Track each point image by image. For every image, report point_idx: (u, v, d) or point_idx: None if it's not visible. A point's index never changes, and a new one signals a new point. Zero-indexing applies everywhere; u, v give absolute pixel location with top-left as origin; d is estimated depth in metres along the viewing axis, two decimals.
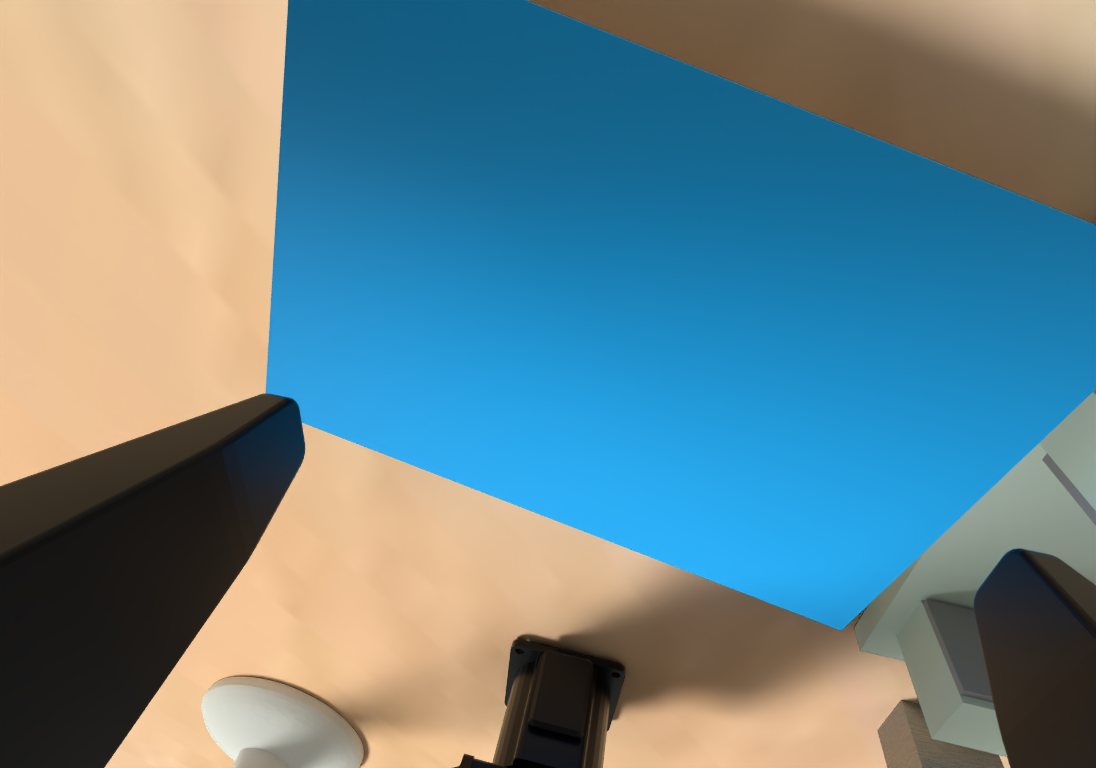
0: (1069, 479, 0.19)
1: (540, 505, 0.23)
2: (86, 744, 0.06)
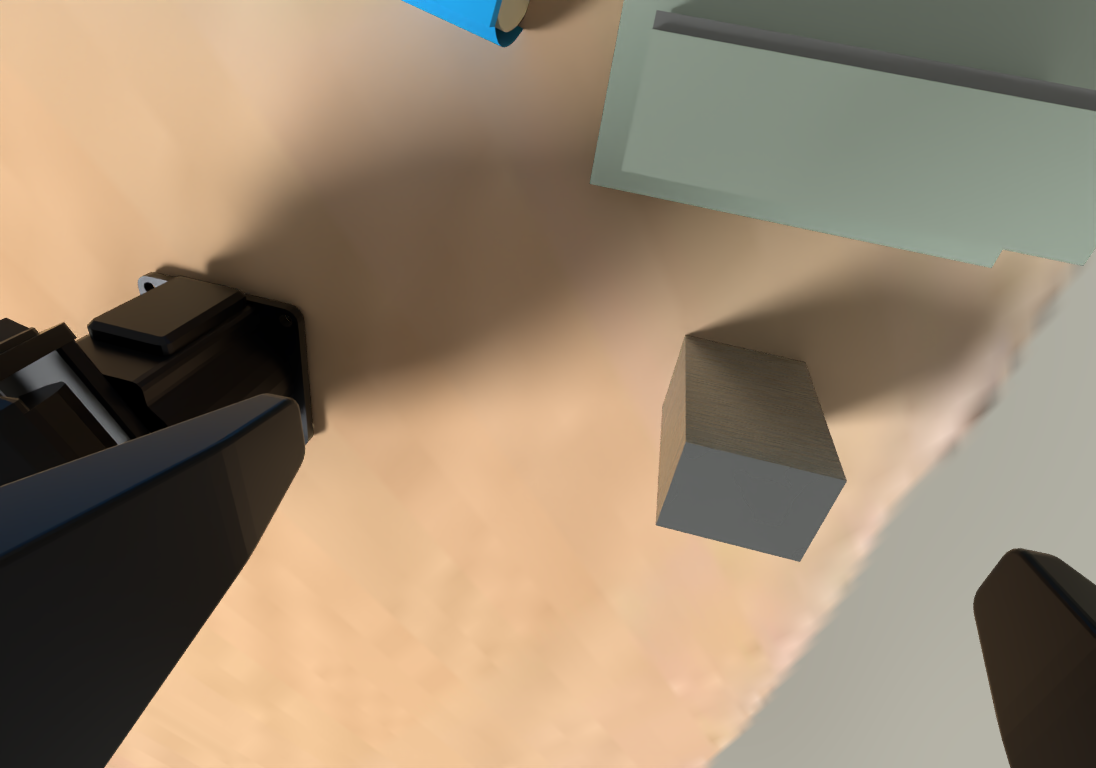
0: None
1: None
2: (86, 744, 0.06)
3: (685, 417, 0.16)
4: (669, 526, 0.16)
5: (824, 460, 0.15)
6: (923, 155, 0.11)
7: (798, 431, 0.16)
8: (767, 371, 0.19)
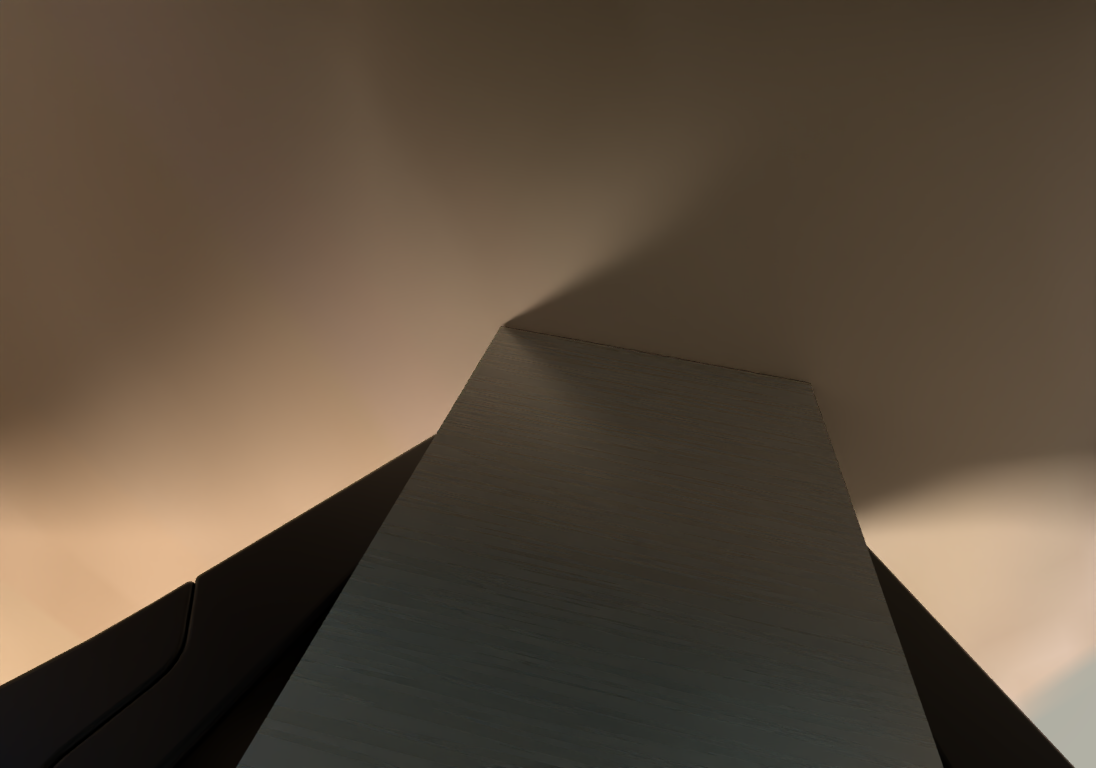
0: None
1: None
2: None
3: (305, 658, 0.04)
4: None
5: None
6: None
7: (786, 686, 0.04)
8: (701, 417, 0.07)
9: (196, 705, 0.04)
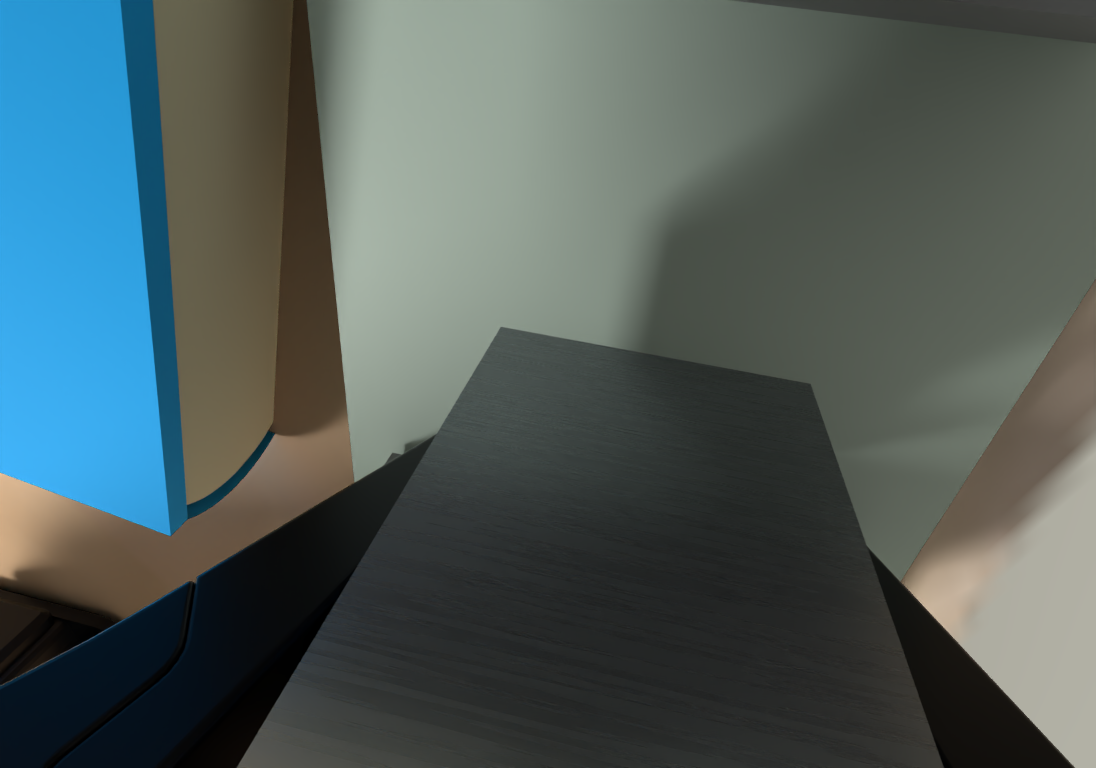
0: None
1: None
2: None
3: (305, 659, 0.04)
4: None
5: None
6: None
7: (785, 689, 0.04)
8: (701, 418, 0.07)
9: (196, 705, 0.04)
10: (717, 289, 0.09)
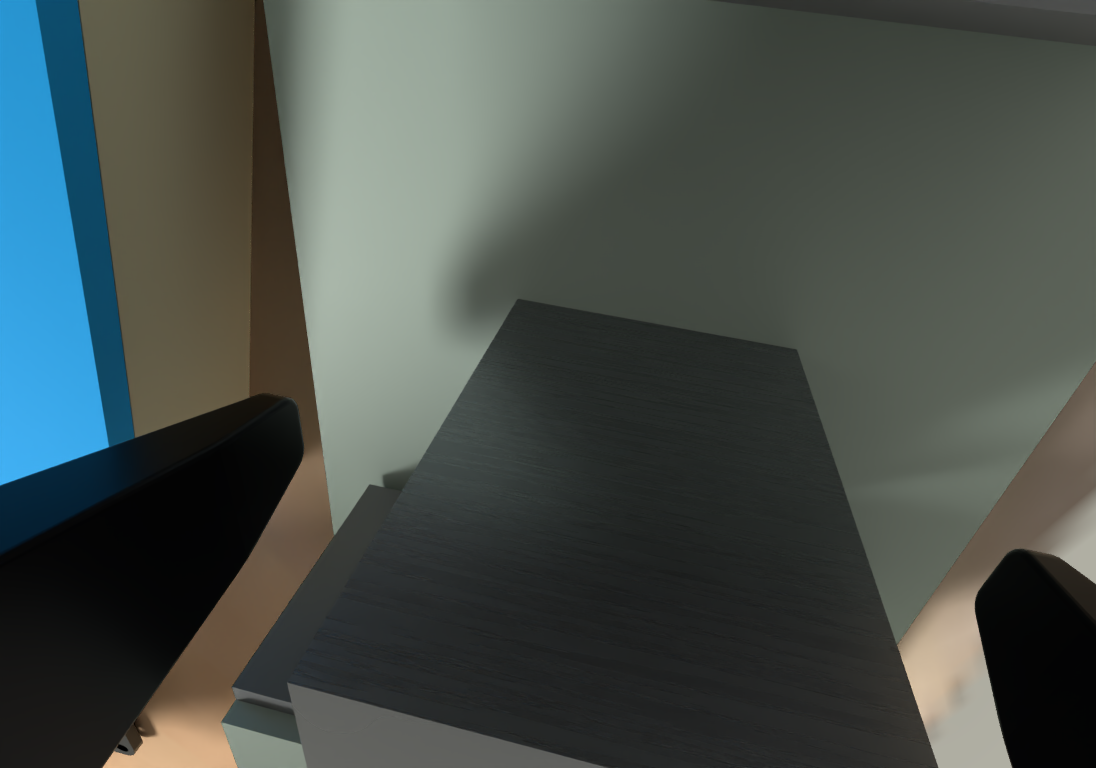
0: None
1: None
2: (84, 744, 0.06)
3: (371, 548, 0.05)
4: None
5: (862, 726, 0.04)
6: None
7: (766, 577, 0.05)
8: (699, 375, 0.07)
9: None
10: (716, 316, 0.08)
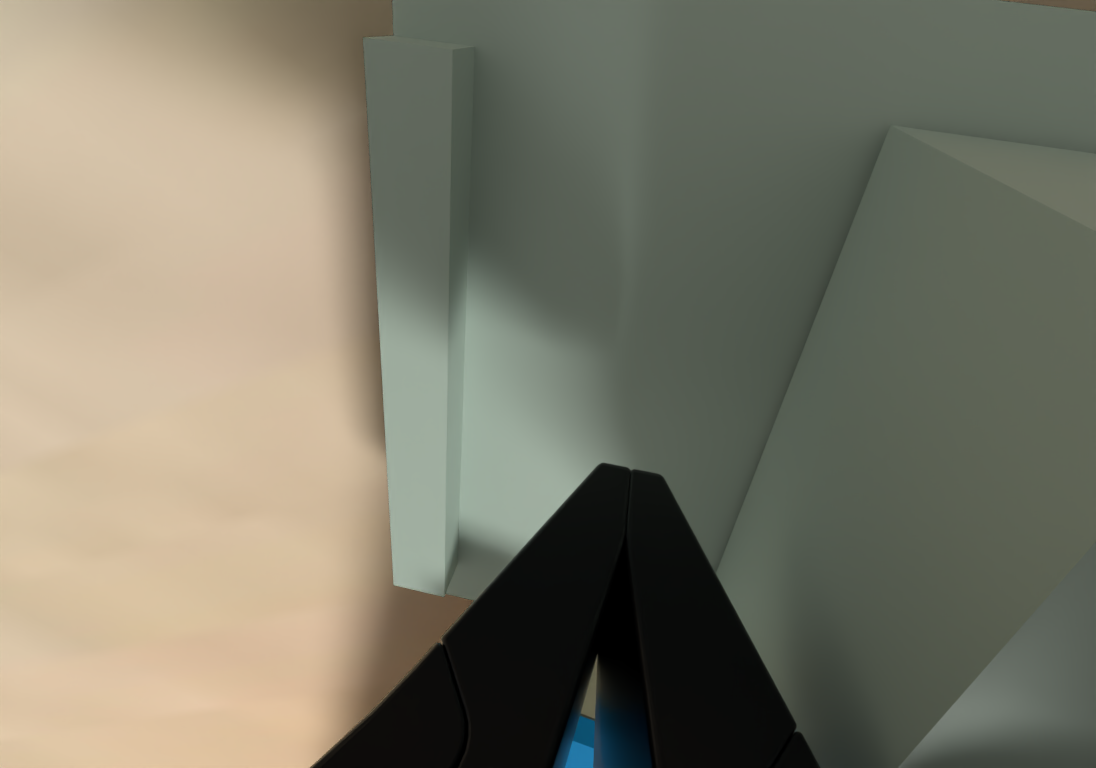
0: None
1: None
2: None
3: None
4: None
5: None
6: None
7: None
8: None
9: None
10: None
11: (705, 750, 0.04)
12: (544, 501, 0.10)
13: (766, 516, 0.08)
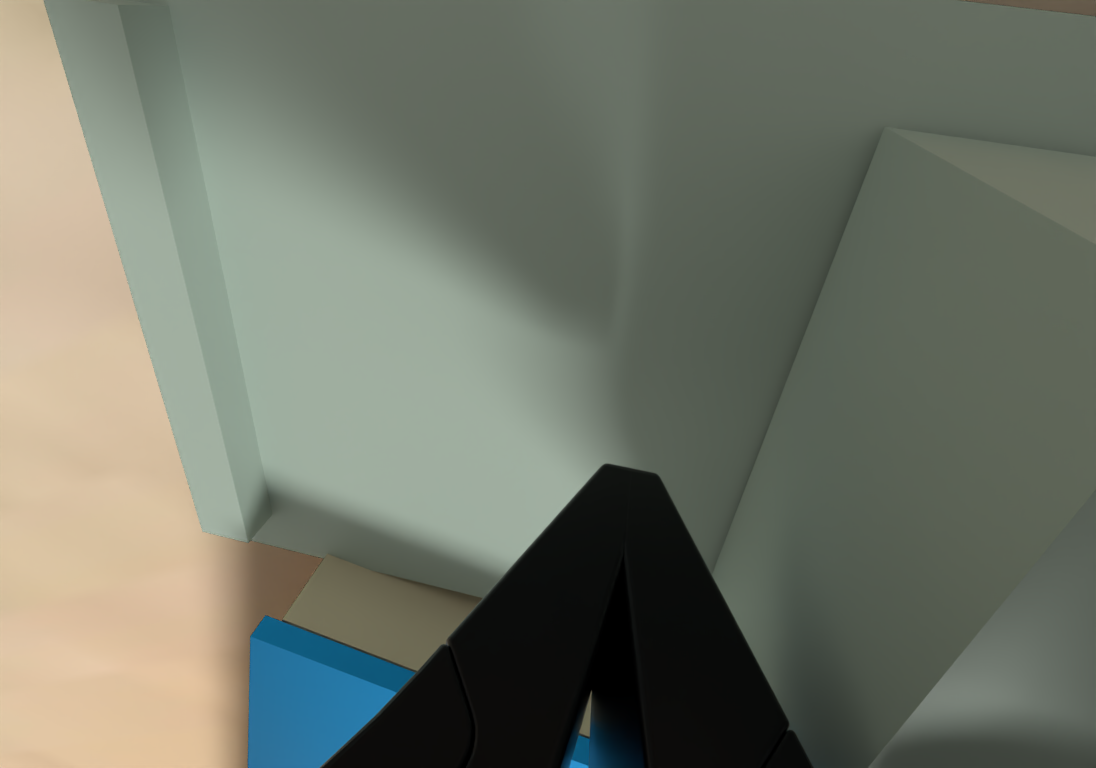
0: None
1: None
2: None
3: None
4: None
5: None
6: None
7: None
8: None
9: None
10: None
11: (698, 748, 0.04)
12: (331, 450, 0.11)
13: (761, 513, 0.08)
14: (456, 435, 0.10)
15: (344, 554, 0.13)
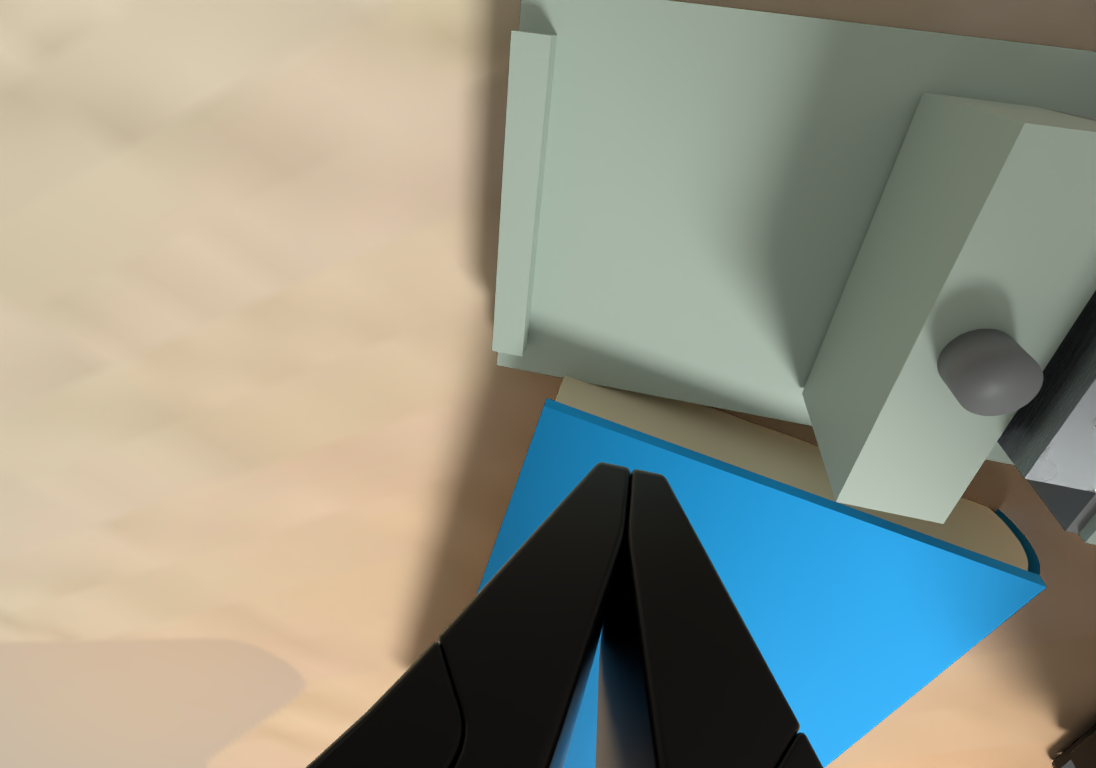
0: None
1: None
2: None
3: (1001, 445, 0.13)
4: None
5: None
6: None
7: None
8: None
9: None
10: None
11: (709, 751, 0.04)
12: (581, 293, 0.18)
13: (856, 297, 0.16)
14: (664, 277, 0.18)
15: (570, 371, 0.20)
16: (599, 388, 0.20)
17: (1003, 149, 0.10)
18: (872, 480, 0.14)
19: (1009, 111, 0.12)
